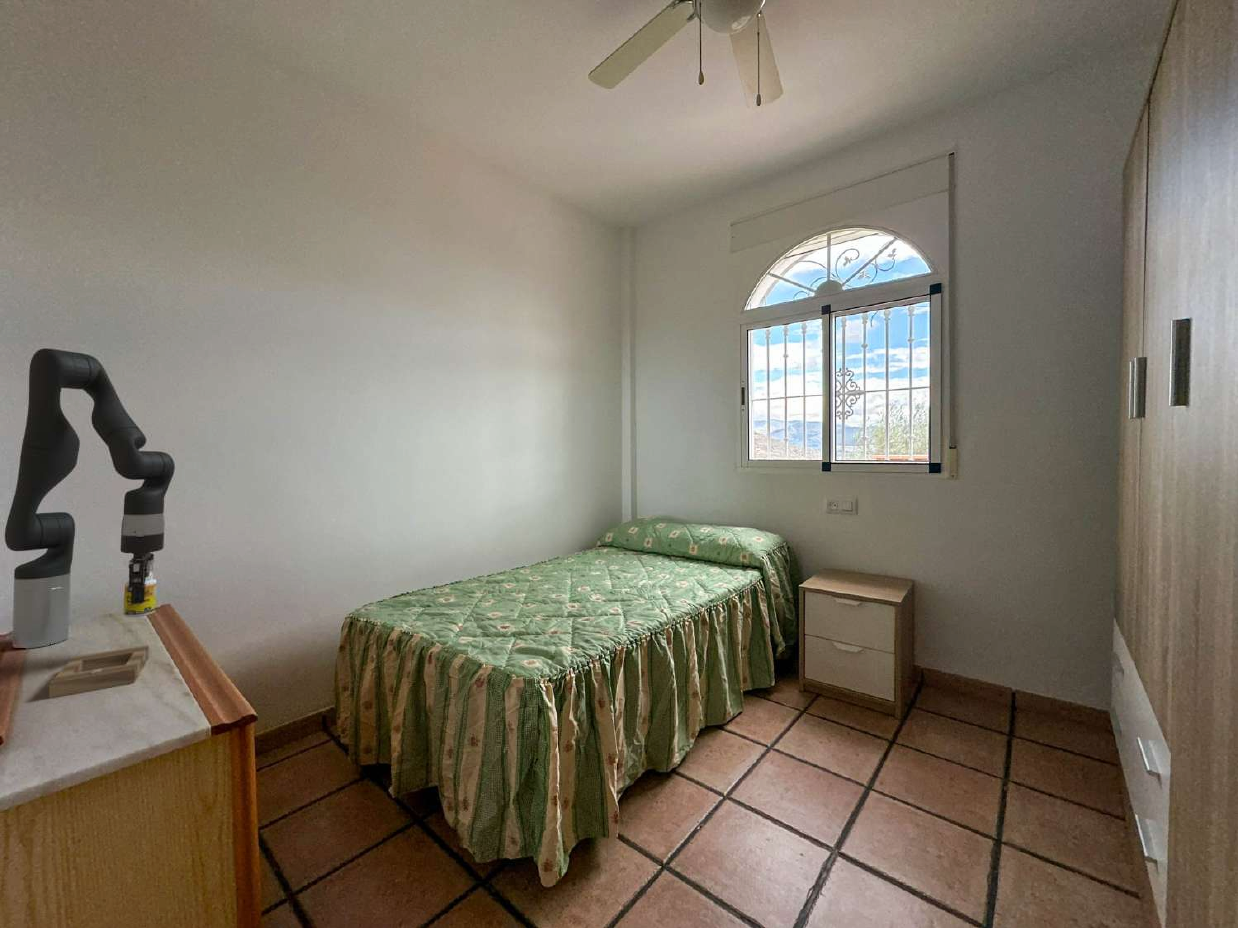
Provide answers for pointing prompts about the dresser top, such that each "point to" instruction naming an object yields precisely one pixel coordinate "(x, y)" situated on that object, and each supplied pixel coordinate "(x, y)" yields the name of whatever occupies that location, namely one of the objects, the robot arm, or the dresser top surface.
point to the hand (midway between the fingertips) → (140, 599)
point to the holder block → (99, 671)
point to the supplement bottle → (149, 600)
